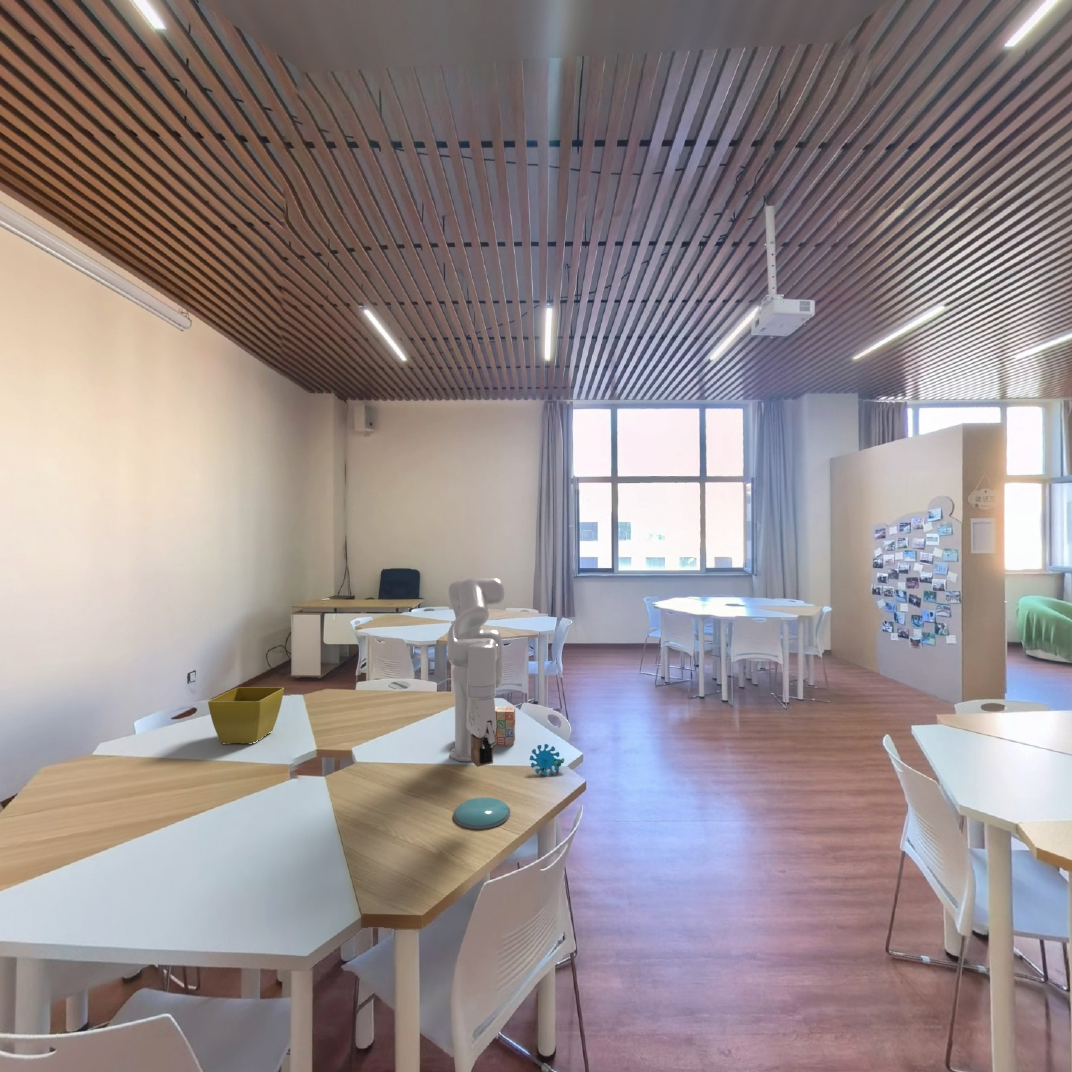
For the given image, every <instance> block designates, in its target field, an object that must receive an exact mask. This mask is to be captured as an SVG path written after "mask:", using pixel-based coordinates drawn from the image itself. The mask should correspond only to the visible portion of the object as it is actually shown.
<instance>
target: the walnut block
mask: <svg viewBox="0 0 1072 1072" xmlns="http://www.w3.org/2000/svg"><path fill="white" fill-rule="evenodd" d="M485 735H487V733H485ZM487 739H488V738H484V742H485V740H487ZM480 748H481V740H480V738H477V737H476V736H475V735H474V734H471V761H470V762H472V764H474V765H475V766H476V767H477V768H478V767H483V766H487V765H493V764H494V745H493V744H492V761H491V762H489V763H485V764H481V763H480Z"/></svg>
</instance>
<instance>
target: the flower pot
mask: <svg viewBox="0 0 1072 1072" xmlns="http://www.w3.org/2000/svg"><path fill="white" fill-rule="evenodd" d="M284 690H285V688H284V687H278V686H277V687H270V686H269V687H266V686H264V687H263V686H262V687H261V686H260V687H259V686H257V687H256V686H253V687H252V686H249V687H247V686H246V687H245V686H244V687H243V686H241V687H239V686H238V687H236V688H234V689H231V690H229V691H227V692H224V693H222V694H220V695H218V696H216V697H214V698H212V699H210V700H207V703H208V709H209V714H210V717H211V718H210V719H211V721H212V724H213V727H214V729H215V732H216V735H217V737H218V739H219V741H220V743H221V744H222V743H253V742H256V741H257V740H259V739H261V738H262V737H264V736H265V735H267V734H268V733H269V732H271V731H272V732H273V731H274V728H275V726H276V724H277V719H278V717H279V713H280V709H281V707H282V702H283V697H284V692H285V691H284ZM267 736H268V735H267ZM264 738H265V737H264Z"/></svg>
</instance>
